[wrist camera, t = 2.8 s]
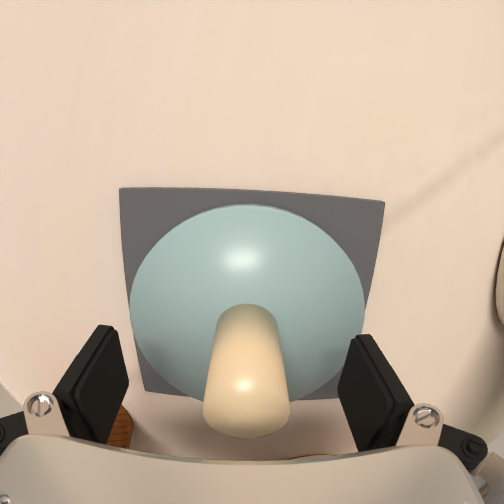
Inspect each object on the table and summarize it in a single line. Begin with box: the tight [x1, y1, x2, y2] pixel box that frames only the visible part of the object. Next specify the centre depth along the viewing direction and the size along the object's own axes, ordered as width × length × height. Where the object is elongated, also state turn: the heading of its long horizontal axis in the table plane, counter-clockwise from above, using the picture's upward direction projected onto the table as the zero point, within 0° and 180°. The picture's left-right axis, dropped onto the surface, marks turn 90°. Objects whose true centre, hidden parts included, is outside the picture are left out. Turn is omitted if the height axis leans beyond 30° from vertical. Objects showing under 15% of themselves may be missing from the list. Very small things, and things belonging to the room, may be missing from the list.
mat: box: [119, 187, 385, 400], centre depth 15 cm, size 12×12×1 cm
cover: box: [129, 203, 365, 438], centre depth 11 cm, size 11×11×6 cm
